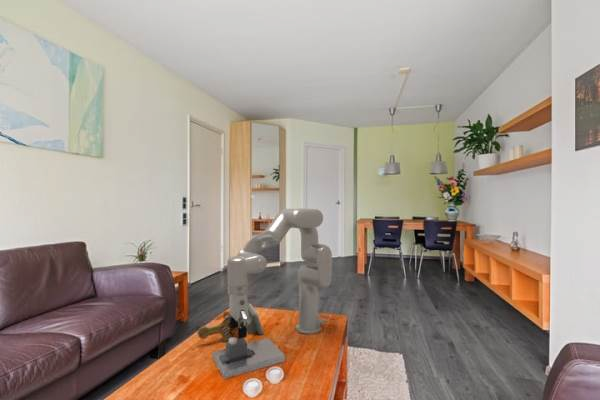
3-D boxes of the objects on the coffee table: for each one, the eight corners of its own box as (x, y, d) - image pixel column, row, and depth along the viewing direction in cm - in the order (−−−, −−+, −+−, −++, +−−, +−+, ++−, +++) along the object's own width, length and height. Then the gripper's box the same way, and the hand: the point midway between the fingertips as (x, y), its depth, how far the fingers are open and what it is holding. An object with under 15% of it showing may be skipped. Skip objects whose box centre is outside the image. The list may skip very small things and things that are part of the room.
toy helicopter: (247, 339, 133) (247, 309, 134) (200, 351, 122) (200, 318, 123) (240, 332, 140) (241, 304, 140) (195, 343, 129) (196, 312, 130)
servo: (248, 356, 119) (249, 332, 119) (253, 361, 115) (253, 337, 115) (219, 364, 113) (219, 339, 113) (222, 370, 109) (222, 344, 109)
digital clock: (263, 336, 138) (264, 313, 138) (244, 337, 136) (244, 314, 136) (262, 322, 154) (262, 301, 154) (244, 323, 152) (244, 302, 152)
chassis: (268, 344, 129) (268, 338, 129) (284, 361, 116) (284, 354, 116) (212, 357, 117) (213, 351, 117) (224, 378, 104) (224, 371, 104)
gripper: (254, 293, 109) (255, 339, 109) (239, 281, 124) (240, 322, 124) (235, 297, 105) (235, 344, 105) (222, 284, 120) (222, 326, 120)
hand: (238, 332), depth 115 cm, fingers open, 9 cm apart
